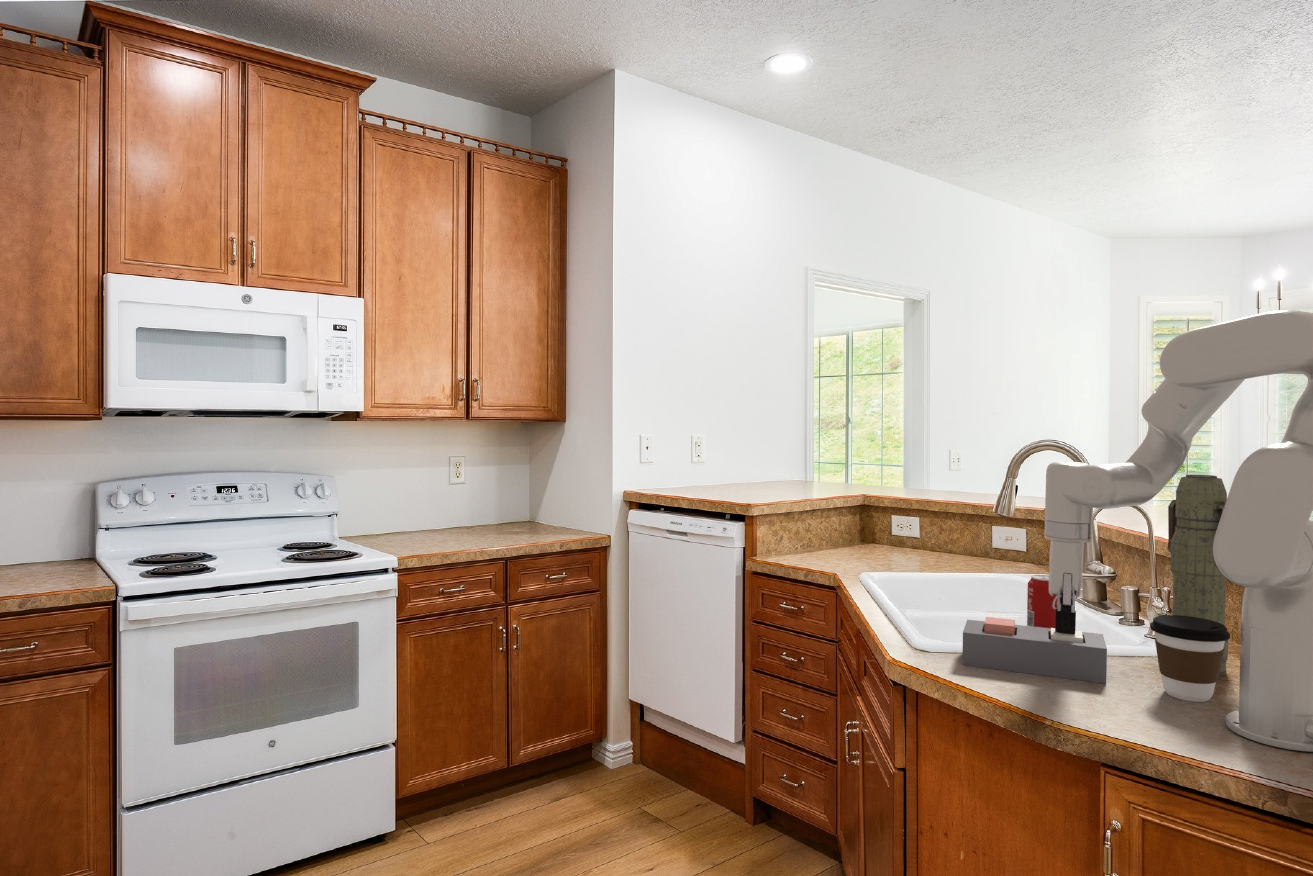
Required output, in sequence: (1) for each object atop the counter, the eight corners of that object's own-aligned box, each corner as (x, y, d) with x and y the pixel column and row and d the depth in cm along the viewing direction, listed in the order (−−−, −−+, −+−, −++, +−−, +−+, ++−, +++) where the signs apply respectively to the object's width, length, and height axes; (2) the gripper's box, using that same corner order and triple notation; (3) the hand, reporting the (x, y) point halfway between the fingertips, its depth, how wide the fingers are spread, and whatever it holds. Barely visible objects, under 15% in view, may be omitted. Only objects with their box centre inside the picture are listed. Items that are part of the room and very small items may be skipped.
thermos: (1181, 656, 150) (1185, 472, 149) (1247, 675, 139) (1252, 477, 138) (1148, 661, 147) (1152, 473, 146) (1212, 682, 136) (1217, 478, 135)
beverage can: (1064, 639, 162) (1065, 580, 161) (1031, 637, 163) (1032, 579, 162) (1055, 631, 168) (1056, 574, 167) (1023, 629, 169) (1024, 573, 169)
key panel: (1102, 666, 144) (1102, 634, 144) (1106, 683, 135) (1106, 648, 135) (966, 650, 154) (967, 619, 154) (962, 664, 145) (962, 632, 145)
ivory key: (1081, 647, 143) (1081, 631, 143) (1082, 655, 139) (1083, 638, 139) (1050, 644, 145) (1050, 627, 145) (1050, 651, 141) (1051, 634, 141)
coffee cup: (1242, 699, 127) (1244, 626, 127) (1206, 712, 122) (1208, 635, 122) (1170, 680, 137) (1172, 611, 137) (1134, 690, 132) (1136, 619, 131)
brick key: (1014, 635, 148) (1015, 619, 148) (1013, 642, 143) (1014, 626, 143) (985, 632, 150) (986, 616, 150) (984, 639, 146) (984, 623, 146)
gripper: (1044, 524, 150) (1041, 620, 151) (1044, 535, 136) (1041, 640, 137) (1089, 526, 146) (1086, 625, 147) (1094, 539, 133) (1091, 646, 134)
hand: (1065, 632), depth 142 cm, fingers closed
